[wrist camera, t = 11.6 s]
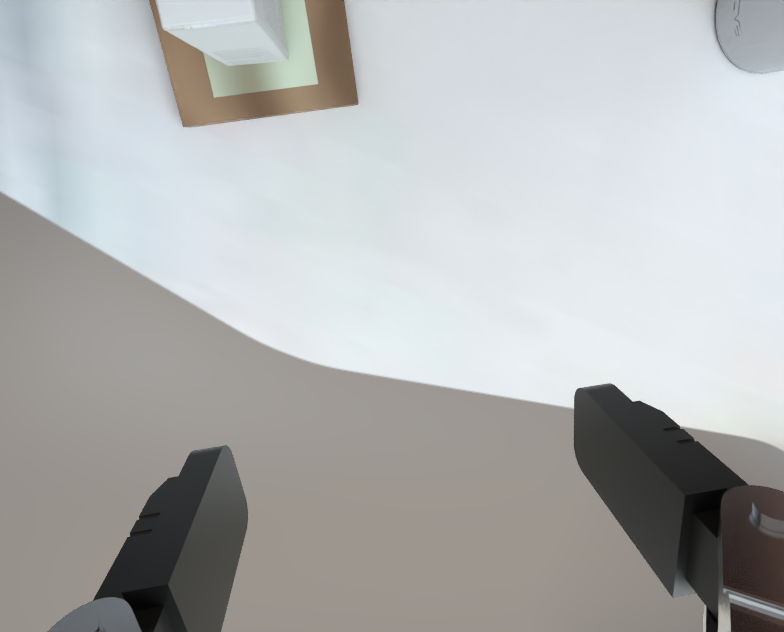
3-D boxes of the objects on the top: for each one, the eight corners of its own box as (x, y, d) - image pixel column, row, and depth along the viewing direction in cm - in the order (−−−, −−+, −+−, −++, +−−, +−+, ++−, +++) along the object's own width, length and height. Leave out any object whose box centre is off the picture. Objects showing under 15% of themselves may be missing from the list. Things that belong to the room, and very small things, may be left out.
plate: (328, -103, 30) (327, -116, 28) (357, 104, 34) (358, 103, 32) (135, -81, 29) (124, -93, 28) (189, 127, 33) (182, 126, 32)
